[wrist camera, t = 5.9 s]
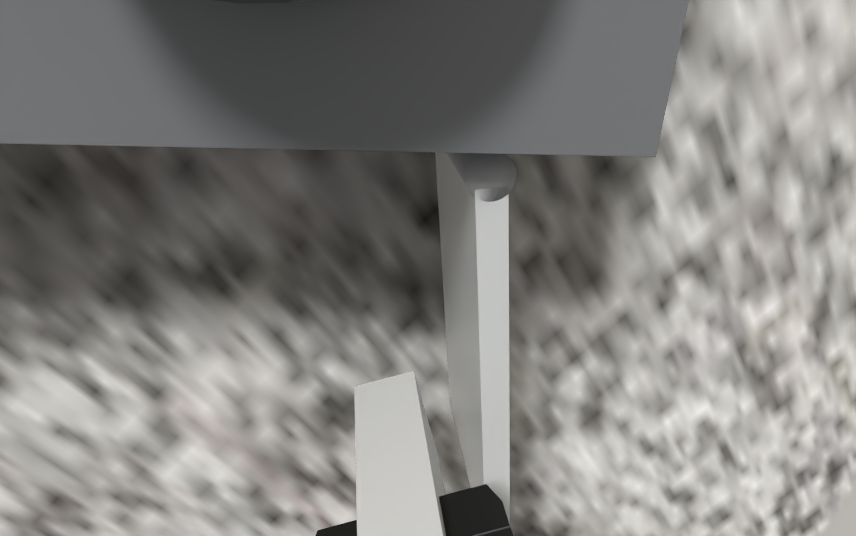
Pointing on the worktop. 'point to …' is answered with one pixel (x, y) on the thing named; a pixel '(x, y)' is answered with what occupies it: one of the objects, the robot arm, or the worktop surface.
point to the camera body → (341, 74)
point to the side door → (478, 308)
